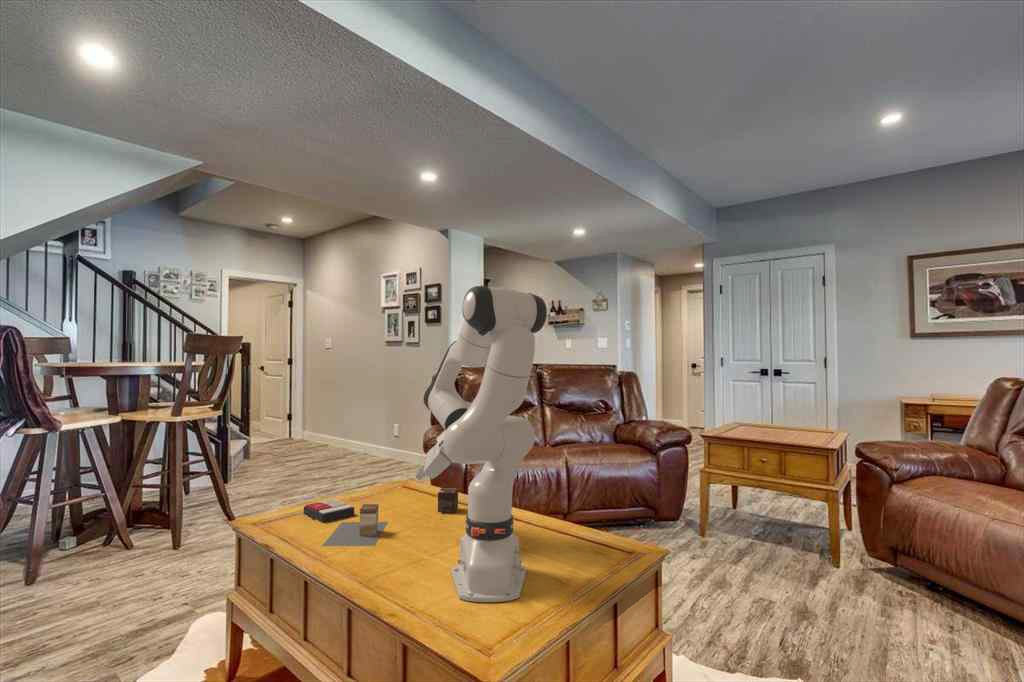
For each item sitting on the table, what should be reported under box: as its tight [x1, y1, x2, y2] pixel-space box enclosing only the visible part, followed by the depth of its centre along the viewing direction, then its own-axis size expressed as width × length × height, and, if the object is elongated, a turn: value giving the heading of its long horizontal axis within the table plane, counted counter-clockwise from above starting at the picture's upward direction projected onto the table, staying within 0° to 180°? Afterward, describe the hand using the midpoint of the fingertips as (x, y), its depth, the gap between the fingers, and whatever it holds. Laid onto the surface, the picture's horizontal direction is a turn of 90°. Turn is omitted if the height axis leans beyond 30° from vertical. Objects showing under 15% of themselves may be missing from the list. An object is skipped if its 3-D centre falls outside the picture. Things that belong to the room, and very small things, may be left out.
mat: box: [321, 521, 389, 547], centre depth 153 cm, size 20×15×1 cm
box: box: [437, 487, 459, 514], centre depth 177 cm, size 6×6×7 cm
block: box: [359, 503, 380, 536], centre depth 153 cm, size 4×4×8 cm
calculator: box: [303, 498, 355, 524], centre depth 170 cm, size 11×4×15 cm
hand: (417, 477), depth 154 cm, fingers closed
